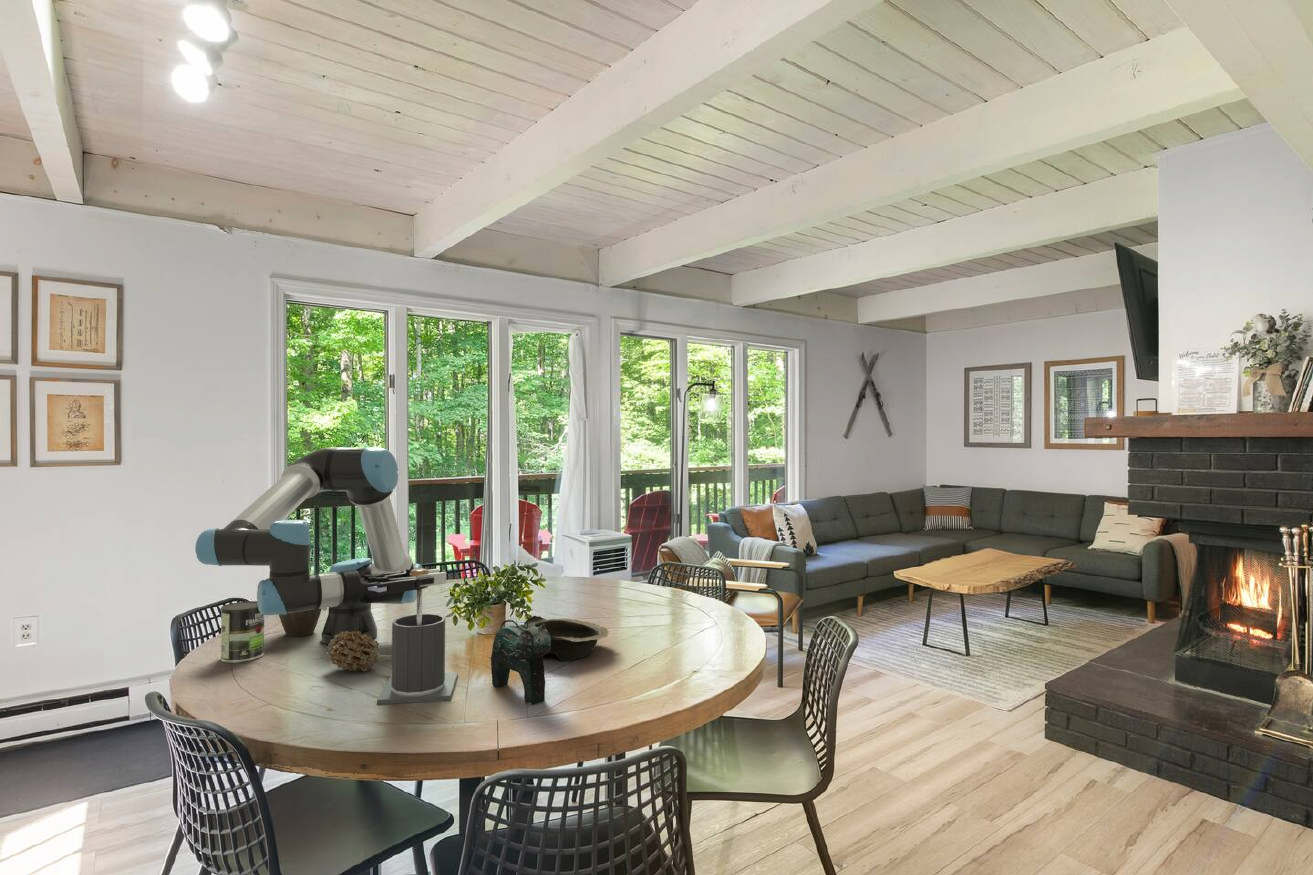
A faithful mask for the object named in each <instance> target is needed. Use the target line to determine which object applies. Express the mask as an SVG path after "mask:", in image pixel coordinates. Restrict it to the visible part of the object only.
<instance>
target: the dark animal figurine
mask: <svg viewBox="0 0 1313 875" xmlns="http://www.w3.org/2000/svg"><path fill="white" fill-rule="evenodd" d="M523 613H524V614H525V615H526V620H527V628H526V629H525V628H524V627H522V626H519V624H518V623H517V622H516V621H515V620H512V619H506V620H504V621H503V622H502V623H501V624H500V627H499V629H498V630H497V631H496V633H495V636H494V638H493V642H492V649H491V655H490V666H491V667H490V670H491V671H490V672H491V681H492V682H491V683H492V685H493V686H494V687H496V688H498V689H500V688H503V687H507V686H508V683H509V680H510V673H511V671H513V672H516V673H518V675H519V676H520V678H521V679H520V680H521V682H522V684H523V691H524V692H523V693H524V696H523V698H524V699H523V700H524V702H525V703H529V704H530V705H532V706H533V705H537V704H540V703H543V702H545V698H546V695H545V694H546V678H545V676H546V675H545V673H546V672H545V664H544V656H543V655H544V654H546V653H548V652H549V651H550V649H551V638H550V635H549V633H548V631H547V630H546V629H545V624H542V625H541V626H540V627H536V626H535V622H534V623H533V624H532V626H531V628H528V618H529V614H528V613H527V611H526V610H525V609H524V610H521V611H520V613H519V615H520V616H521V615H522V614H523ZM506 623H513V624H514V625H508V626H504V625H505V624H506ZM503 626H504V627H503Z"/></svg>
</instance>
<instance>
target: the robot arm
mask: <svg viewBox="0 0 1313 875" xmlns="http://www.w3.org/2000/svg"><path fill="white" fill-rule="evenodd" d="M398 471H399V468H398V464H397V459H396V458H395V456H394V455H393V453H392V452H391V451H390V450H388V449H386V448H384V447H375V446H367V447H346V446H345V447H340V446H339V447H338V446H337V447H336V446H329V447H324V448H320V449H317V450H314V451H312V452H309V453H307V454H306V455H304V456H301V457H299V458H298V459H296V460H295V461H294V462H292V463H291V464H289V465H288V466H287V467H286V468H285V469H284V470H283V471H282V473H281V478H280V479H278V480H277V481H276V482H275V483H274V484H273V485H272V486H271V487H269V488H268V489H267V490H266V491H265V492H264V493H263V494H261V495H260V496H259V497H258V498H257V499H255V500H254V502H252V503H251V504H250V505H249V506H248V507H247V508H245V509H244V510H243V511H242V512H241V513H239V515H237V516H236V517H235V518H234V519H233V520H232V521H230V522H229V523H228V524H227V525H226V526H225V527H224V528H221V529H220V528H218V527H217V528H212V529H210V528H209V529H207V530H204V531H202V532H200V534H199V536H198V537H197V539H196V543H195V545H194V546H195V550H194V551H195V554H196V558H197V560H198V561H199V562H200V564H203V565H207V566H208V565H210V566H218V567H222V566H260V567H261V566H265V567H266V566H268V567H269V573H268V574H269V575H268V578H265V579H262V580H260V581H259V582H258V585H257V591H256V601H257V604H258V609H259V611H260V613H261V614H263V615H264V616H275V615H276V616H279V614H284V615H285V614H289V613H295V612H301V611H307V610H315V609H321V608H322V610H321V611H323V612H326V611H327V610H328V614H327V618H326V620H325V624H324V626H323V629H322V632H321V643H323V644H326V645H329V644H330V643H331V641H330V640H332V639H334V636H335V635H339V633H340V632H345V631H348V632H352V631H356V632H358V631H360V632H361V634H362V635H364V634H366V635H367V636H371V637H372V639H373V640H375V638H377V636H378V627H377V623H376V620H375V617H374V616H373V612H372V604H384V605H385V604H392V605H394V604H395V605H403V604H412V603H414V602H416V601H417V591H420V587H424V586H428V587H430V586H432V587H433V586H439V585H446V584H447V572H446V571H441V572H440V571H439V570H440V569H439V568H433V569H428V570H429V574H423V575H418V576H416V577H411V570H414V569H423V566H422V564H420V563H417V562H416V563H413V559H412V557H411V556H410V554H408V553H407V552H405V550H404V546H403V542H402V538H401V533H400V530H399V527H398V523H397V519H396V515H395V512H394V508H393V503H392V501H391V500H392V499H391V496H392V494H393V492H394V489H396V487H397V485H398V481H399V474H398ZM321 492H323V493H324V492H346V495H347V498H348V501H349V502H350V503H352V504H353V505H354V506H355V505H356V507H357V509H358V510H357V511H358V513H359V517H360V520H361V524H362V527H363V530H364V534H365V537H366V541H367V544H368V547H369V550H370V554H371V558H370V557H361V558H360V557H359V558H353V559H347V560H343V561H339V562H336V563H334V564H332V565H331V566H330V568H329V571H328V572H323V573H322V572H321V573H313V574H310V573H311V572H310V571H311V568H310V567H311V543H312V540H311V531H310V524H309V522H307V521H306V520H303V519H287V518H288V516H290V515H291V514H292V513H293V512H294V511H295V510H296V509H297V508H298V507H299V506H300V505H301V504H302V503H303V502H305V500H307V499H312V498H313V497H315V496H316V495H317V494H319V493H321Z"/></svg>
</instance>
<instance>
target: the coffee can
mask: <svg viewBox="0 0 1313 875" xmlns="http://www.w3.org/2000/svg"><path fill="white" fill-rule="evenodd" d="M220 612H221V614H220V615H221V616H220V619H221V621H220V622H221V623H220V624H221V625H220V627H221V628H220V629H221V630H220V634H221V636H220V661H221V662H222V663H227V664H229V663H230V664H231V663H232V664H235V663H245V662H251V661H254V660H258V659H259V658H262V657H263V656H264V655H265V615H263V614H261V613H260V611H259V609H258V604H257V600H251V601H250V600H249V601H246V600H245V601H238V602H237V601H236V602H233V603H228V604H225V605H223V606H221V607H220Z"/></svg>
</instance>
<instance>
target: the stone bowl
mask: <svg viewBox="0 0 1313 875" xmlns="http://www.w3.org/2000/svg"><path fill="white" fill-rule="evenodd" d="M534 622H535V626H536V627H540V626H541V625H542V624H545V629H546V630H547V631H548V633H549V635H550V638H551V649H550V651H549V652H548V653H546V654H544V655H543V657H544V656H547V655H552V654H555V655H556V657H557V658H558V659H559V660H560V661H565V662H569V661H570V662H571V661H573V660H580V659H582V658H584V657H586V656H587V655H591V654H592V653H593V651H594V649H595V648H596V646H597V643H598V640H601V639H604V638H607V637H608V636H609V630H608V628H606V627H605V626H600V624H597V623H595V622H594V623H593V622H588V621H584V620H579V619H571V618H551V619H546V618H543V617H542V616H538V615H537V616H536V615H533V616H531V617H529V616H528V628H531V626H532V624H533V623H534ZM523 623H524V624H520V625H519V624H518V625H519V626H522V627H524V628H525V629H526V628H527V619H526V620H525V621H524V622H523Z"/></svg>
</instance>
